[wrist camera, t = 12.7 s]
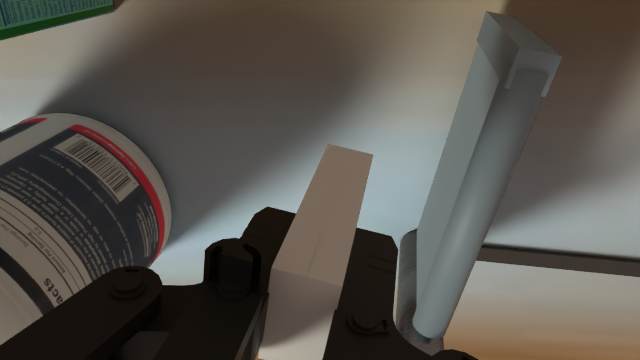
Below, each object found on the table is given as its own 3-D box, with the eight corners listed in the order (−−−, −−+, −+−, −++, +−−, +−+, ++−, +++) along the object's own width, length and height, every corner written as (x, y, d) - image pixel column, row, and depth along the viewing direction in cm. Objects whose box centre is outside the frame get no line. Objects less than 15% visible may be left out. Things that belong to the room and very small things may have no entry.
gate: (439, 236, 29) (446, 342, 21) (413, 230, 29) (412, 333, 22) (517, 17, 22) (567, 58, 15) (484, 10, 23) (517, 48, 15)
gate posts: (395, 260, 32) (384, 436, 21) (398, 226, 30) (388, 393, 19) (721, 294, 28) (917, 525, 17) (740, 257, 27) (964, 480, 16)
